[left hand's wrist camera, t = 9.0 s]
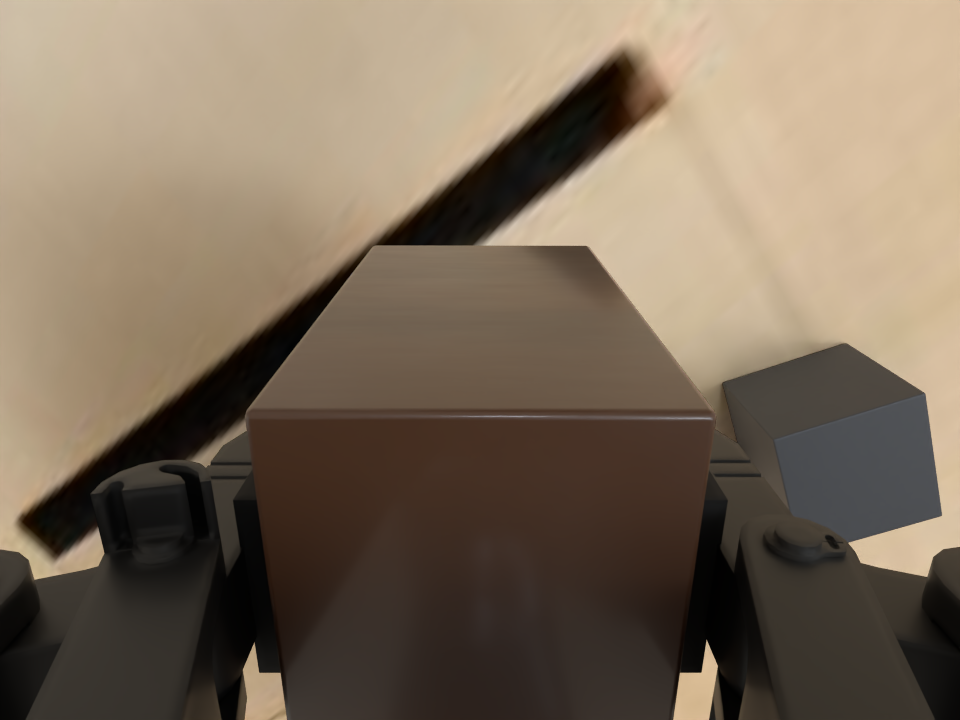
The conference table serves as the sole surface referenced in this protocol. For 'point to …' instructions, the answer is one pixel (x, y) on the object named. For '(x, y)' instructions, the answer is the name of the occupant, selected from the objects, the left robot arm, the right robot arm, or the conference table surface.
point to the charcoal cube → (839, 441)
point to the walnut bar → (480, 494)
